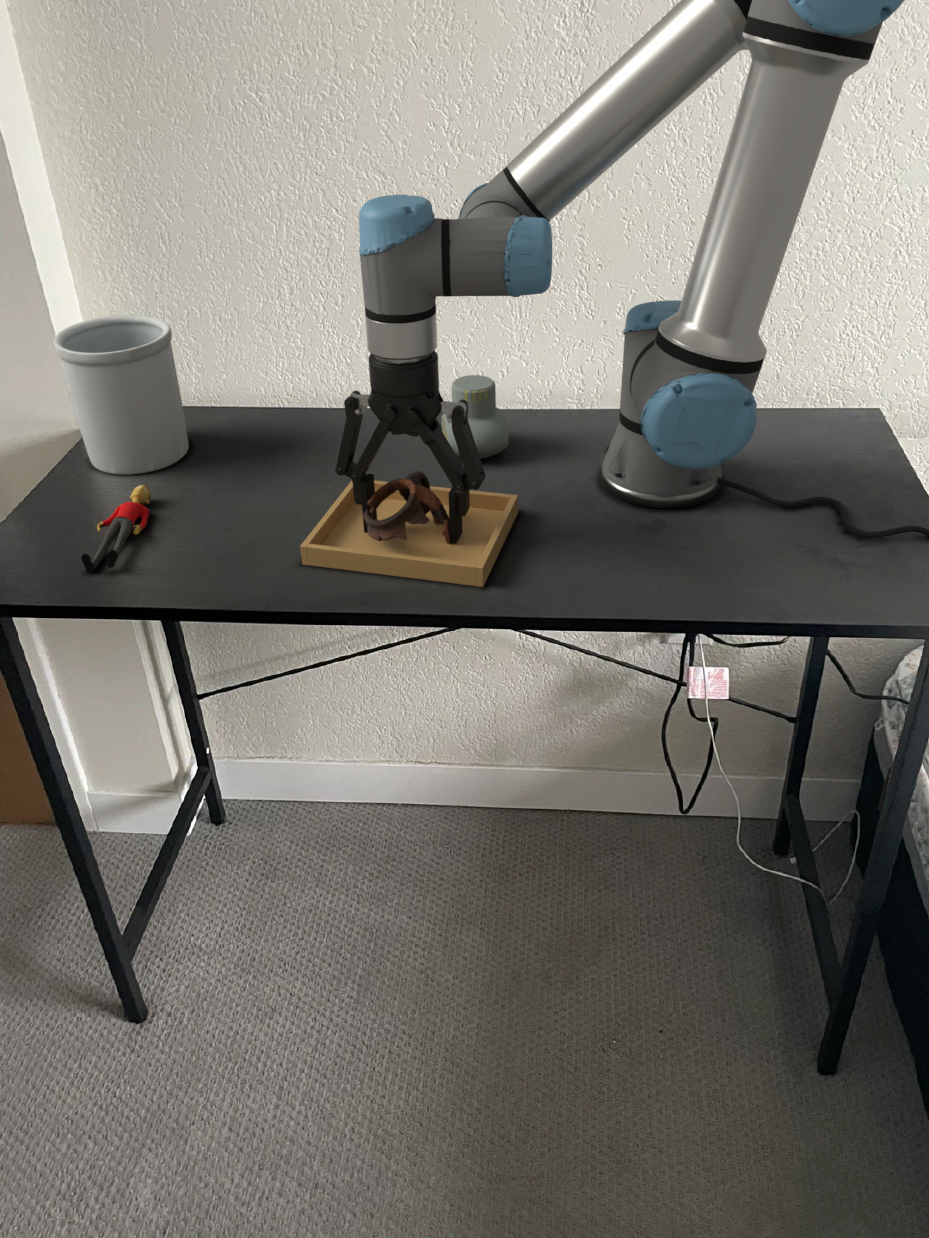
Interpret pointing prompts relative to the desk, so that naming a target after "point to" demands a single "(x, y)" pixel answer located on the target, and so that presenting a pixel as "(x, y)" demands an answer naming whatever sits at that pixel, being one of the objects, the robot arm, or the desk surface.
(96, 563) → the person figure
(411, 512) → the broken clay pot
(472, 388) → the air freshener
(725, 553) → the desk surface
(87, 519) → the desk surface
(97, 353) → the utensil holder
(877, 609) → the desk surface
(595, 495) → the desk surface
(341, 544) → the tray
